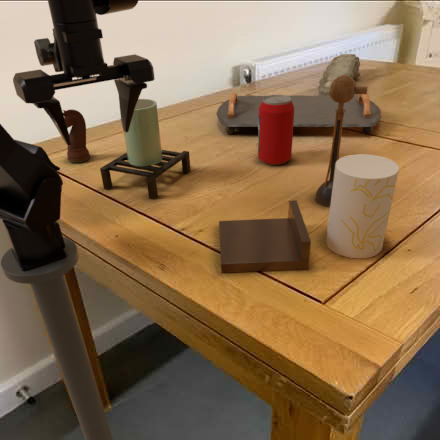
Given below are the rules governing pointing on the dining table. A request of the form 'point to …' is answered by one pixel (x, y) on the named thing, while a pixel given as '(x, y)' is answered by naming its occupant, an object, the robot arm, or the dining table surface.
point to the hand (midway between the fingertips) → (97, 138)
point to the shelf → (265, 243)
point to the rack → (149, 176)
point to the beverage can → (275, 129)
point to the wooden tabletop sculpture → (337, 130)
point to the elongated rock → (339, 71)
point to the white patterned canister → (360, 204)
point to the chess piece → (76, 136)
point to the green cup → (144, 135)
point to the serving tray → (302, 112)
